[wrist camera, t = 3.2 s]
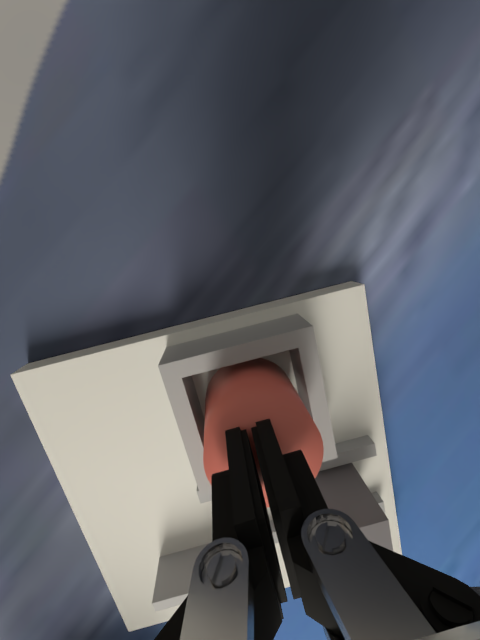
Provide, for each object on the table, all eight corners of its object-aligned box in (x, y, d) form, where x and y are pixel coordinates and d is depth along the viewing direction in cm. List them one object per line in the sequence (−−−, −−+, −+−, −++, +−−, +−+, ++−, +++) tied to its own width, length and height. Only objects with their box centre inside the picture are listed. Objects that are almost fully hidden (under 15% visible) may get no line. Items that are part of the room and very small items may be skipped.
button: (283, 347, 15) (312, 387, 11) (300, 424, 16) (332, 490, 12) (195, 369, 15) (188, 420, 11) (218, 446, 16) (220, 521, 12)
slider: (350, 460, 18) (388, 519, 14) (356, 494, 19) (394, 560, 15) (310, 471, 18) (337, 534, 14) (317, 505, 19) (345, 573, 15)
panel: (351, 281, 17) (391, 291, 13) (389, 534, 22) (427, 596, 18) (27, 363, 17) (-28, 399, 13) (134, 605, 21) (117, 685, 17)
